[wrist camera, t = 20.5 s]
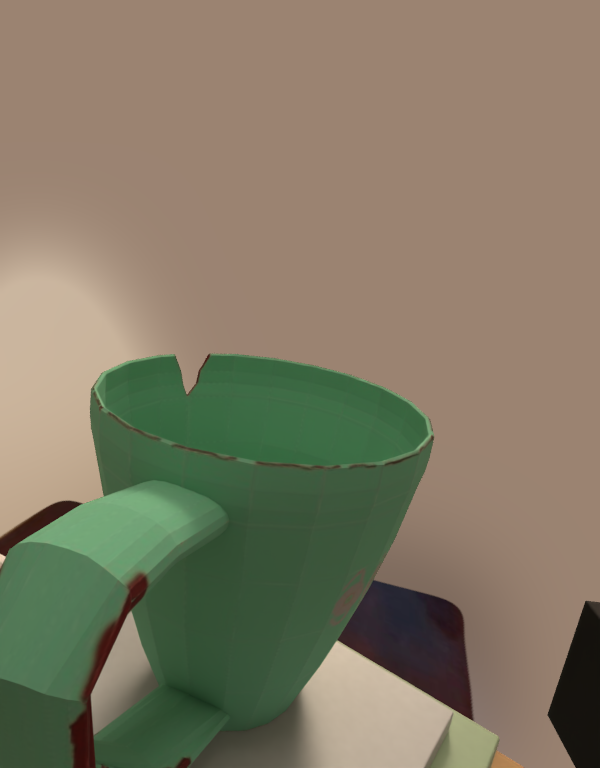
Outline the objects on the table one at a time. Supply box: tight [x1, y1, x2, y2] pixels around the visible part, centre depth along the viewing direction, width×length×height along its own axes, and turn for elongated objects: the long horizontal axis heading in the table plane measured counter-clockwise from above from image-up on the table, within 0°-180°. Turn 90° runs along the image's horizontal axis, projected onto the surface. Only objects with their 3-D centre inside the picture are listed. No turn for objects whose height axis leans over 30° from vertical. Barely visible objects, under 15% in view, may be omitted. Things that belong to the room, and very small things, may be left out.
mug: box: [0, 354, 434, 768], centre depth 15 cm, size 15×10×10 cm
